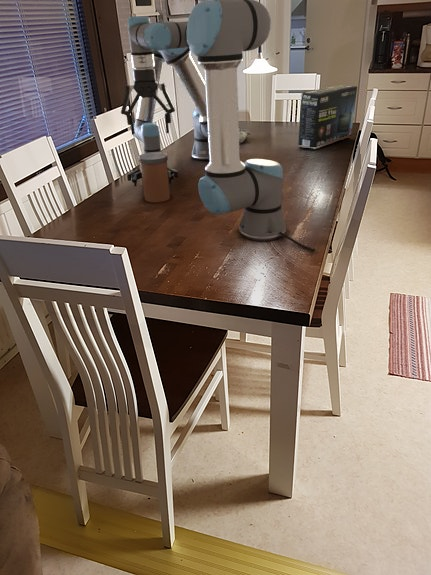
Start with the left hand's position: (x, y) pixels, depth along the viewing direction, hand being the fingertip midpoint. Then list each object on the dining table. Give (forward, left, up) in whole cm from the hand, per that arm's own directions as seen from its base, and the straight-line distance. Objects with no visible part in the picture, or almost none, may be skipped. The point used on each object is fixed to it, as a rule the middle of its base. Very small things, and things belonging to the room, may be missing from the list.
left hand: (152, 181), depth 178 cm
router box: (-98, +55, -6) cm, 112 cm away
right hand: (0, +1, +18) cm, 18 cm away
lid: (0, +1, +10) cm, 10 cm away
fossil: (-95, +5, -6) cm, 95 cm away
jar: (0, +1, -6) cm, 7 cm away
